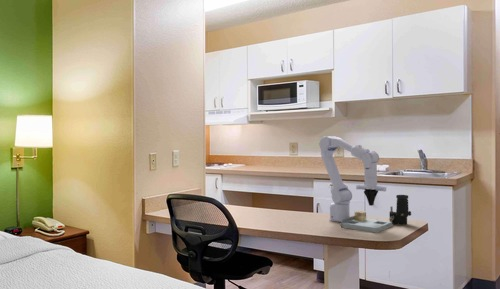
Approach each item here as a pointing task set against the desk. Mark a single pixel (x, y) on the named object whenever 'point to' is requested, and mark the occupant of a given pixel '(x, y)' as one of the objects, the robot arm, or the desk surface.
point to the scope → (400, 211)
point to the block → (360, 215)
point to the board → (365, 224)
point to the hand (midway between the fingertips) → (371, 205)
